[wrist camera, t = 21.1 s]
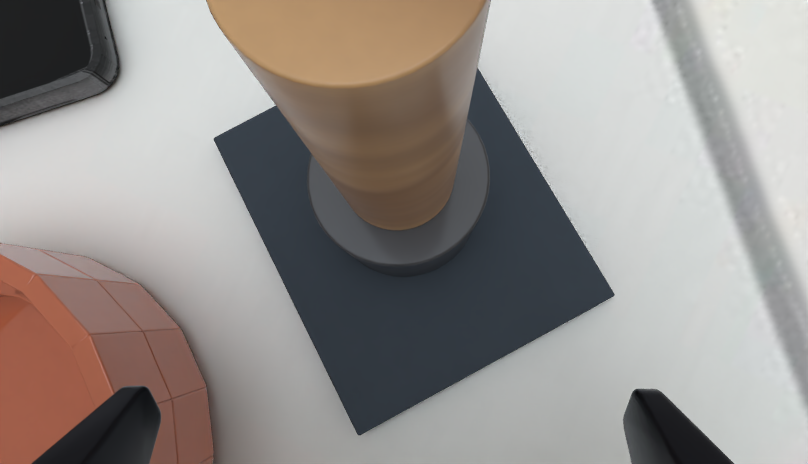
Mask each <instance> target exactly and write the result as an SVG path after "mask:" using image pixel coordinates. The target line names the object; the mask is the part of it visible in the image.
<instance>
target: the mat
mask: <svg viewBox="0 0 808 464" xmlns="http://www.w3.org/2000/svg"><path fill="white" fill-rule="evenodd" d="M467 119H468V120H469V121H470V122H471V124H472V125H473V126H474V128H475V129H476V131H477V132H478V134H479V135H480V137H481V140H482V142H483V144H484V146H485V150H486V153H487V156H488V161H489V167H490V185H489V193H488V197H487V201H486V205H485V207H484V210H483V212H482V215H481V216H480V218H479V220H478V222H477V224H476V226H475V227H474V229H473V231H472V233H471V235H470V236H469V238H468V240H467V242H466V243H465V245H464V246H463V248H462V249H461V250H460V251H459V253H458V254H457V255H456V256H455V257H454V258H453V259H451V260H450V261H449V262H447V263H446V264H445V265H443V266H441V267H439V268H438V269H436V270H433V271H431V272H428V273H425V274H421V275H417V276H410V277H398V276H390V275H386V274H382V273H379V272H377V271H374V270H372V269H370V268H368V267H367V266H365V265H363V264H362V263H360V262H359V261H358V260H356V259H355V258H354V257H352V256H351V255H350V254H348V253H347V252H345V251H344V250H343V249H342V248H340V247H339V246H338V245H337V244H335V243H334V242H333V241H332V240H331V238H330V237H329V236H328V235H327V234H326V233H325V231H324V230H323V229H322V227H321V226H320V224H319V222H318V220H317V219H316V217H315V215H314V212H313V209H312V207H311V204H310V200H309V195H308V188H307V170H308V164H309V158H310V155H311V152H310V151H309V149H308V148H307V147H306V145H305V144H304V143H303V141H302V140H301V138H300V137H299V136H298V134H297V133H296V132H295V130H294V129H293V128H292V126H291V125H290V123H289V122H288V121H287V119H286V118H285V117H284V115H283V114H282V113H281V111H280V110H279V108H278V107H277V106H274V107H272V108H271V109H269V110H267V111H265V112H263V113H261V114H259V115H257V116H255V117H253V118H251V119H249V120H247V121H246V122H244V123H242V124H240V125H238V126H236V127H234V128H232V129H230V130H228V131H226V132H224V133H222V134H221V135H219V136H217V137H215V138H214V141H215V143H216V145H217V147H218V149H219V151H220V153H221V155H222V157H223V160H224V162H225V164H226V166H227V168H228V170H229V172H230V174H231V176H232V178H233V180H234V182H235V184H236V186H237V188H238V190H239V192H240V194H241V196H242V198H243V201H244V203H245V205H246V207H247V209H248V211H249V213H250V215H251V217H252V219H253V221H254V223H255V225H256V227H257V229H258V231H259V233H260V235H261V237H262V239H263V242H264V244H265V246H266V248H267V250H268V252H269V254H270V256H271V258H272V260H273V262H274V264H275V266H276V268H277V270H278V272H279V274H280V276H281V278H282V280H283V283H284V285H285V287H286V289H287V291H288V293H289V295H290V297H291V299H292V301H293V303H294V305H295V307H296V309H297V311H298V313H299V315H300V317H301V319H302V321H303V324H304V326H305V328H306V330H307V332H308V334H309V336H310V338H311V340H312V342H313V344H314V346H315V348H316V350H317V352H318V354H319V356H320V358H321V360H322V362H323V365H324V367H325V369H326V371H327V373H328V375H329V377H330V379H331V381H332V383H333V385H334V387H335V389H336V391H337V393H338V395H339V397H340V399H341V401H342V403H343V406H344V408H345V410H346V412H347V414H348V416H349V418H350V420H351V422H352V424H353V426H354V428H355V430H356V432H357V434H358V435H361V434H363V433H365V432H367V431H369V430H370V429H372V428H374V427H376V426H378V425H380V424H381V423H383V422H385V421H387V420H389V419H390V418H392V417H394V416H396V415H398V414H400V413H401V412H403V411H405V410H407V409H409V408H411V407H412V406H414V405H416V404H418V403H420V402H422V401H423V400H425V399H427V398H429V397H431V396H432V395H434V394H436V393H438V392H440V391H442V390H443V389H445V388H447V387H449V386H451V385H453V384H454V383H456V382H458V381H460V380H462V379H464V378H465V377H467V376H469V375H471V374H473V373H474V372H476V371H478V370H480V369H482V368H484V367H485V366H487V365H489V364H491V363H493V362H495V361H496V360H498V359H500V358H502V357H504V356H506V355H507V354H509V353H511V352H513V351H515V350H516V349H518V348H520V347H522V346H524V345H526V344H527V343H529V342H531V341H533V340H535V339H537V338H538V337H540V336H542V335H544V334H546V333H548V332H549V331H551V330H553V329H555V328H557V327H558V326H560V325H562V324H564V323H566V322H568V321H569V320H571V319H573V318H575V317H577V316H579V315H580V314H582V313H584V312H586V311H588V310H589V309H591V308H593V307H595V306H597V305H599V304H600V303H602V302H604V301H606V300H608V299H610V298H611V297H613V296H614V293H613V291H612V289H611V288H610V286H609V285H608V283H607V281H606V280H605V278H604V276H603V275H602V273H601V271H600V270H599V268H598V266H597V265H596V263H595V261H594V260H593V258H592V256H591V255H590V253H589V251H588V250H587V248H586V246H585V245H584V243H583V242H582V240H581V238H580V237H579V235H578V233H577V232H576V230H575V228H574V227H573V225H572V223H571V222H570V220H569V218H568V217H567V215H566V213H565V212H564V210H563V208H562V207H561V205H560V203H559V202H558V200H557V199H556V197H555V195H554V194H553V192H552V190H551V189H550V187H549V185H548V184H547V182H546V180H545V179H544V177H543V175H542V174H541V172H540V170H539V169H538V167H537V165H536V164H535V162H534V161H533V159H532V157H531V156H530V154H529V152H528V151H527V149H526V147H525V146H524V144H523V142H522V141H521V139H520V137H519V136H518V134H517V132H516V131H515V129H514V127H513V126H512V124H511V122H510V121H509V119H508V118H507V116H506V114H505V113H504V111H503V109H502V108H501V106H500V104H499V103H498V101H497V99H496V98H495V96H494V94H493V93H492V91H491V89H490V88H489V86H488V84H487V83H486V81H485V80H484V78H483V76H482V75H481V73H480V71H479V70H478V68H477V71H476V76H475V81H474V86H473V91H472V96H471V101H470V106H469V111H468V116H467Z"/></svg>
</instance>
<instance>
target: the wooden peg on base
mask: <svg viewBox="0 0 808 464" xmlns="http://www.w3.org/2000/svg"><path fill="white" fill-rule="evenodd" d="M206 1H207V4H208V6H209V9H210V12H211V14H212V15H213V17H214V19H215V21H216V23H217V24H218V26H219V28H220V29H221V31H222V32H223V33H224V35H225V36H226V38H227V39H228V40H229V42H230V43H231V44H232V46H233V47H234V48H235V50H236V51H237V53H238V54H239V55H240V57H241V58H242V59H243V61H244V62H245V63H246V65H247V66H248V68H249V69H250V70H251V72H252V73H253V74H254V76H255V77H256V78H257V80H258V81H259V83H260V84H261V85H262V87H263V88H264V89H265V91H266V92H267V93H268V95H269V96H270V98H271V99H272V100H273V102H274V103H275V104H276V106H277V107H278V108H279V110H280V111H281V113H282V114H283V115H284V117H285V118H286V119H287V121H288V122H289V123H290V125H291V126H292V128H293V129H294V130H295V132H296V133H297V134H298V136H299V137H300V138H301V140H302V141H303V143H304V144H305V145H306V147H307V148H308V149H309V151H310V152H311V155H310V158H309V164H308V170H307V188H308V195H309V200H310V204H311V207H312V209H313V212H314V215H315V217H316V219H317V220H318V222H319V224H320V226H321V227H322V229H323V230H324V231H325V233H326V234H327V235H328V236H329V237H330V238H331V240H332V241H333V242H334V243H335V244H337V245H338V246H339V247H340V248H342V249H343V250H344V251H345V252H347V253H348V254H350V255H351V256H352V257H354V258H355V259H356V260H358V261H359V262H360V263H362V264H363V265H365V266H367V267H368V268H370V269H372V270H374V271H377V272H379V273H382V274H386V275H390V276H398V277H410V276H417V275H421V274H425V273H428V272H431V271H433V270H436V269H438V268H439V267H441V266H443V265H445V264H446V263H447V262H449V261H450V260H451V259H453V258H454V257H455V256H456V255H457V254H458V253H459V251H460V250H461V249H462V248H463V246H464V245H465V243H466V242H467V240H468V238H469V236H470V235H471V233H472V231H473V229H474V227H475V226H476V224H477V222H478V220H479V218H480V216H481V215H482V212H483V210H484V207H485V205H486V201H487V197H488V193H489V185H490V167H489V161H488V156H487V153H486V150H485V146H484V144H483V142H482V140H481V137H480V135H479V134H478V132H477V131H476V129H475V128H474V126H473V125H472V124H471V122H470V121H469V120H468V119H467V116H468V111H469V106H470V101H471V96H472V91H473V86H474V81H475V76H476V71H477V67H478V62H479V57H480V52H481V47H482V42H483V37H484V32H485V27H486V22H487V17H488V12H489V7H490V2H491V0H206Z"/></svg>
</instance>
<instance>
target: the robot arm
mask: <svg viewBox="0 0 808 464" xmlns="http://www.w3.org/2000/svg"><path fill="white" fill-rule="evenodd" d="M160 424H161V411H160V409H159V407H158V405H157V403H156V401H155V399H154V397H153V395H152V393H151V391H150V390H149V388H148V387H146V386H124V387H122V388H120V389H119V390H118V391H116V392H115V393H114V394H113V395H112V396H111V397H109V398H108V399H107V400H106V401H105V402H103V403H102V404H101V405H100V406H99V407H98V408H96V409H95V410H94V411H93V412H92V413H90V414H89V415H88V416H87V417H86V418H85V419H83V420H82V421H81V422H80V423H79V424H77V425H76V426H75V427H74V428H73V429H71V430H70V431H69V432H68V433H67V434H66V435H64V436H63V437H62V438H61V439H60V440H58V441H57V442H56V443H55V444H54V445H53V446H51V447H50V448H49V449H48V450H47V451H45V452H44V453H43V454H42V455H41V456H40V457H38V458H37V459H36V460H35V461H34V462H32V463H31V464H149V463H150V460H151V456H152V452H153V449H154V445H155V442H156V438H157V435H158V431H159V428H160ZM623 424H624V431H625V435H626V440H627V444H628V449H629V454H630V458H631V463H632V464H734V463H733V462H732V461H731V460H730V459H729V458H728V457H727V456H726V455H725V454H724V453H723V452H722V451H721V450H720V449H719V448H718V447H717V446H716V445H715V444H714V443H713V442H712V441H711V440H710V439H709V438H708V437H707V436H706V435H705V434H704V433H703V432H702V431H701V430H700V429H699V428H698V427H697V426H696V425H695V424H694V423H692V422H691V421H690V420H689V419H688V418H687V417H686V416H685V415H684V414H683V413H682V412H681V411H680V410H679V409H678V408H677V407H676V406H675V405H674V404H673V403H672V402H671V401H670V400H669V399H668V398H667V397H666V396H665V395H664V394H663V393H662V392H660V391H659V390H657V389H636V390H634V391H633V393H632V395H631V397H630V400H629V403H628V405H627V408H626V411H625V414H624V419H623Z"/></svg>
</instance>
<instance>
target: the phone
mask: <svg viewBox="0 0 808 464" xmlns="http://www.w3.org/2000/svg"><path fill="white" fill-rule="evenodd" d="M118 69H119V61H118V55H117V51H116V47H115V43H114V39H113V35H112V31H111V27H110V23H109V19H108V15H107V10H106V6H105V2H104V0H0V126H1V125H4V124H7V123H10V122H14V121H17V120H20V119H23V118H26V117H29V116H32V115H35V114H38V113H41V112H44V111H47V110H50V109H53V108H56V107H59V106H62V105H66V104H69V103H72V102H75V101H78V100H81V99H84V98H87V97H90V96H93V95H96V94H98V93H100V92H102V91H104V90H106V89H107V88H108V87H109V86H110V85H111V84H112V83H113V81H114V80H115V78H116V77H117V73H118Z"/></svg>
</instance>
